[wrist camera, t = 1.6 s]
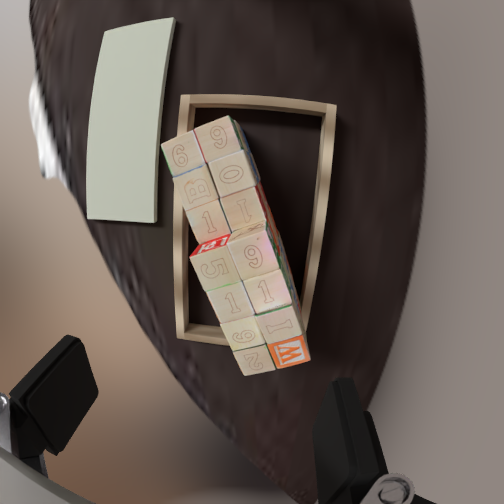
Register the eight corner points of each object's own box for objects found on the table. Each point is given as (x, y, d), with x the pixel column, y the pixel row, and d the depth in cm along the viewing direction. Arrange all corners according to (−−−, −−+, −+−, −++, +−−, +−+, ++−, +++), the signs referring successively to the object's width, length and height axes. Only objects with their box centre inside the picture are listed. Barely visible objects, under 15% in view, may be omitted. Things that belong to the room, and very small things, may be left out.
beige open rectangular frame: (187, 99, 27) (181, 95, 25) (331, 109, 27) (336, 105, 25) (182, 327, 37) (177, 338, 34) (299, 340, 36) (301, 351, 34)
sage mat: (108, 33, 24) (105, 31, 23) (175, 20, 24) (173, 17, 23) (91, 217, 33) (87, 218, 32) (157, 221, 32) (153, 223, 31)
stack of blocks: (190, 147, 29) (143, 140, 18) (242, 127, 28) (224, 105, 17) (252, 312, 35) (243, 378, 24) (300, 299, 34) (311, 363, 23)
